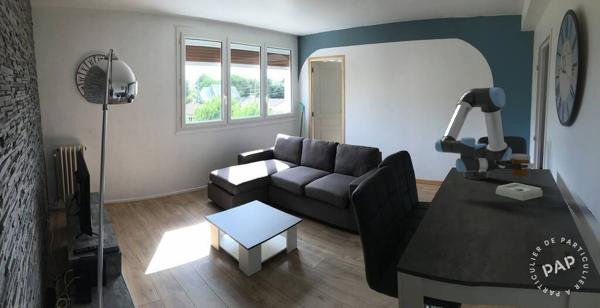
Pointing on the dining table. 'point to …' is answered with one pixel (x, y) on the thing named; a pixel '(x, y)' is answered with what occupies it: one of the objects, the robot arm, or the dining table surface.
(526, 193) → the square rimmed tray
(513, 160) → the disposable coffee cup
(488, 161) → the robot arm
